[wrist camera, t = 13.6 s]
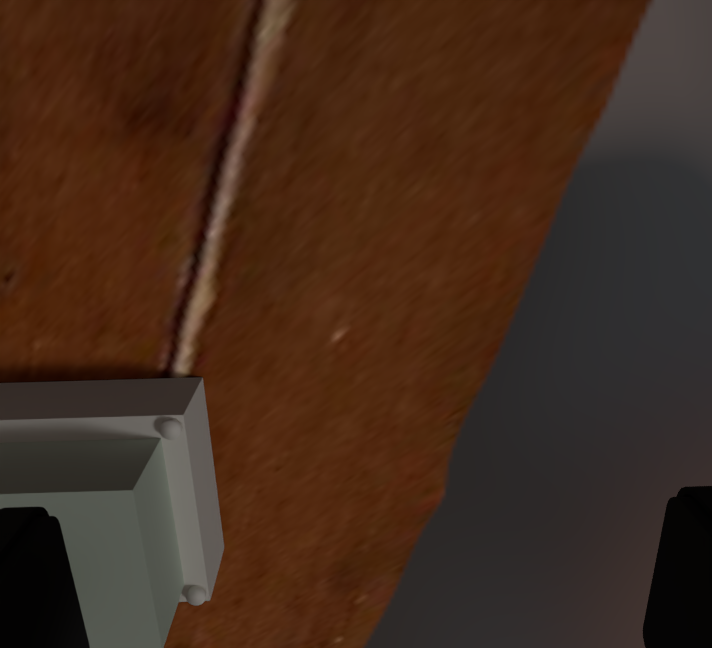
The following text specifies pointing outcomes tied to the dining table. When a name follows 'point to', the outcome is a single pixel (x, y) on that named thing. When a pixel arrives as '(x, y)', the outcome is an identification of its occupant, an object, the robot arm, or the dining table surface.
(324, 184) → the dining table surface
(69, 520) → the grey stacking block
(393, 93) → the dining table surface
